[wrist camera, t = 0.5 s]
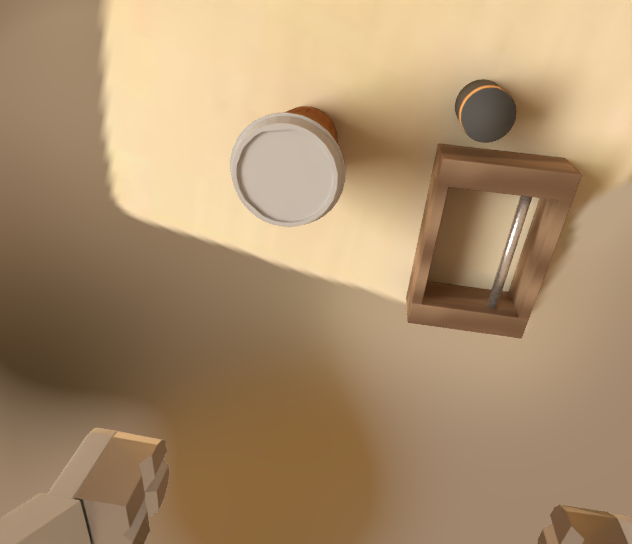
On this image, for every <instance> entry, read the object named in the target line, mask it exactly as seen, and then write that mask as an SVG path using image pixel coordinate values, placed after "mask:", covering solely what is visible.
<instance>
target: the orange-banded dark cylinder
mask: <svg viewBox="0 0 632 544" xmlns="http://www.w3.org/2000/svg"><path fill="white" fill-rule="evenodd" d="M455 112H456V115H457V118H458V119H459V121H460V124H461V126H462V128H463V130H464V131H465V133H466V134H467V135H468V136H469V137H470V138H472V139H473V140H475V141H478V142H485V143H486V142H493V141H496V140H498V139H500V138H502V137H503V136H504V135H506V134H507V133H508V132H509V131H510V129H511V128H512V126H513V124H514V122H515V119H516V105H515V103H514V101H513V99H512V98H511V96H510V95H509V94H508V93H507V92H506V91H505V90H503V89H502V88H500V87H499V86H498V85H497V84H496V83H494V82H492V81H489V80H476V81H473V82H471V83H469V84H468V85H466V86H465V87H464V88H463V89H462V90H461V91H460V93H459V95H458V97H457V99H456V103H455Z"/></svg>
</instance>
